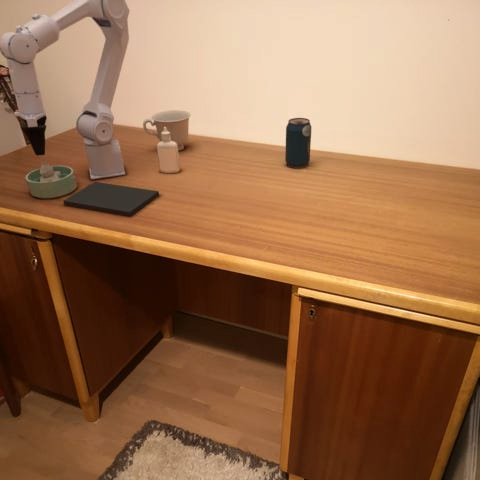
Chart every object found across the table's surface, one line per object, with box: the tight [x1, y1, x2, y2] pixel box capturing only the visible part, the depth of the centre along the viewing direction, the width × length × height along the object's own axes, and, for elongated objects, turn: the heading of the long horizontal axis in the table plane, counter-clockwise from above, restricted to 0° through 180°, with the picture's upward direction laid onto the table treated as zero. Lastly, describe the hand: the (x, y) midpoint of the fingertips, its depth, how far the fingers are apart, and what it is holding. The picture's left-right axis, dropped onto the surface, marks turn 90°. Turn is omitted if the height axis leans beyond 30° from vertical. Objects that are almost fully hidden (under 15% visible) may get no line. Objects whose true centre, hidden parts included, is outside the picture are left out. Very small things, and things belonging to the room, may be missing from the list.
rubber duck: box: [40, 159, 61, 182], centre depth 122 cm, size 5×7×8 cm
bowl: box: [25, 165, 78, 200], centre depth 123 cm, size 12×12×4 cm
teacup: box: [142, 109, 192, 152], centre depth 144 cm, size 12×15×10 cm
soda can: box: [284, 117, 313, 169], centre depth 129 cm, size 7×7×12 cm
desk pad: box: [63, 181, 160, 218], centre depth 117 cm, size 20×13×1 cm, turn 66°
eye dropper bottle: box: [156, 127, 181, 174], centre depth 129 cm, size 4×6×12 cm
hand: (40, 150), depth 118 cm, fingers open, 7 cm apart
